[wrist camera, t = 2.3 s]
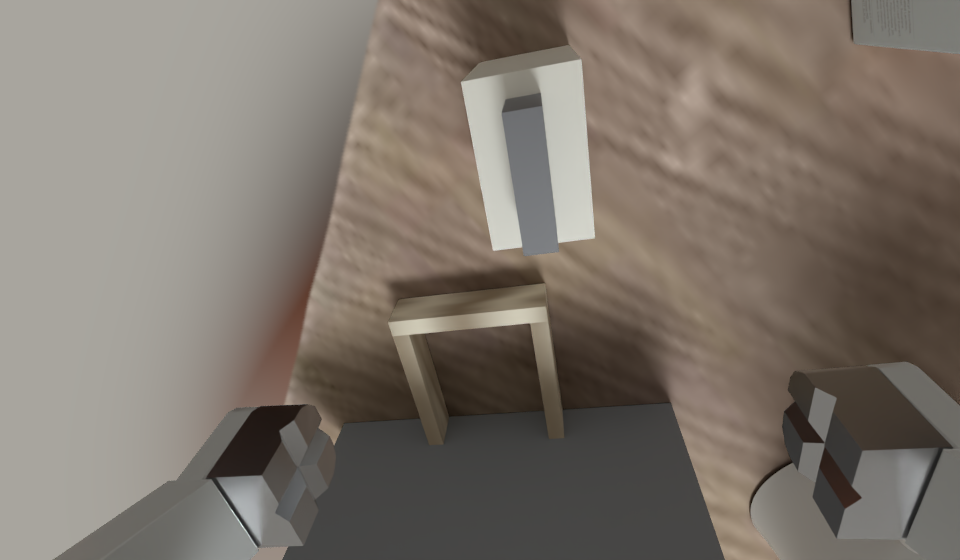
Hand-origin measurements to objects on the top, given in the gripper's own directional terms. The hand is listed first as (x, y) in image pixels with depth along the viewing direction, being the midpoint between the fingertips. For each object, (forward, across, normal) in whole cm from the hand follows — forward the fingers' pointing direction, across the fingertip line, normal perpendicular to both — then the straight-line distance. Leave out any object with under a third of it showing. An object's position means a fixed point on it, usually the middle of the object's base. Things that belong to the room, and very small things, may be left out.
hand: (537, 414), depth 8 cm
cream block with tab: (+23, 0, 0) cm, 23 cm away
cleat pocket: (+23, +6, +18) cm, 30 cm away
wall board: (+23, +6, +24) cm, 34 cm away
